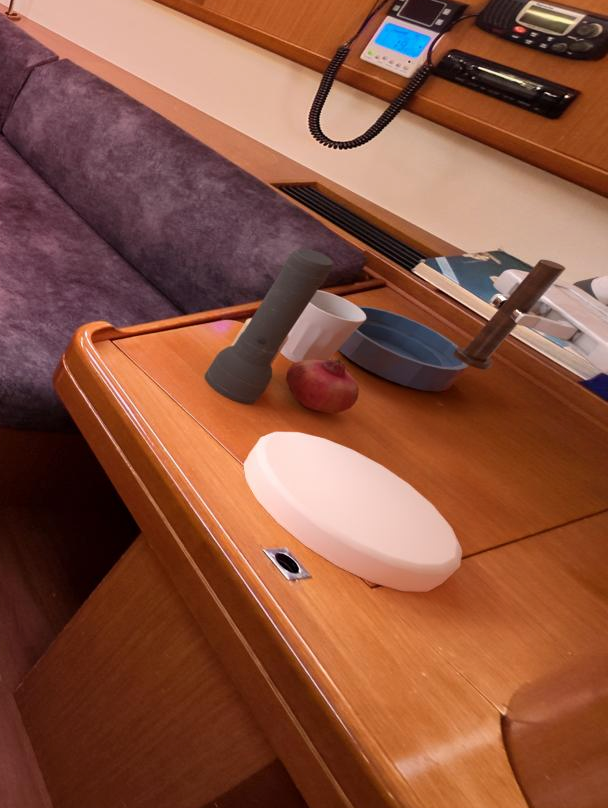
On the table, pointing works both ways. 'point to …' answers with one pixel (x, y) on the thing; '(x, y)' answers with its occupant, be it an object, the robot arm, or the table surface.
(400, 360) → the bowl
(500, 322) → the stick
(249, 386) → the flashlight
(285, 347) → the cup
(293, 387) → the fruit
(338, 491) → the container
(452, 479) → the table surface
